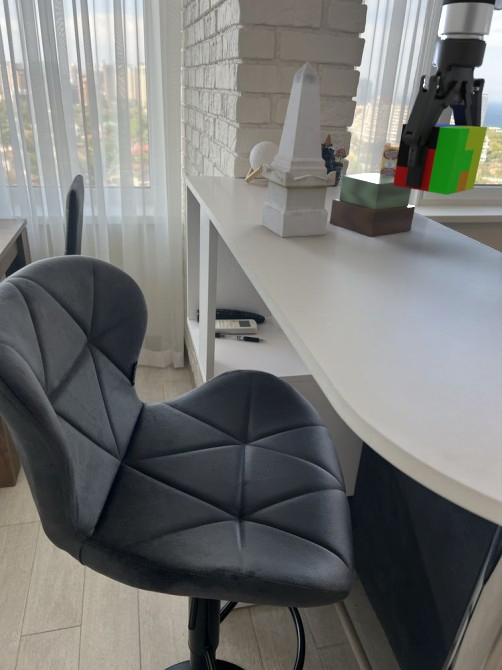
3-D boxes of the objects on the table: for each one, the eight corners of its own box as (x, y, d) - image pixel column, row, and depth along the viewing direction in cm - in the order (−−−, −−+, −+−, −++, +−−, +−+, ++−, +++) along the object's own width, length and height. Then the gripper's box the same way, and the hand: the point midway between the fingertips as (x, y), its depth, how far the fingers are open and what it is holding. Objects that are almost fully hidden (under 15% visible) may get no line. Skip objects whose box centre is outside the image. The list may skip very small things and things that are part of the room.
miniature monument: (328, 234, 99) (349, 62, 86) (280, 238, 96) (295, 58, 82) (303, 221, 108) (319, 63, 95) (259, 224, 104) (268, 59, 91)
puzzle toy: (421, 180, 95) (431, 122, 91) (473, 188, 89) (487, 127, 84) (393, 185, 89) (402, 123, 84) (446, 194, 82) (460, 128, 78)
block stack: (410, 230, 106) (420, 181, 102) (371, 236, 100) (379, 185, 95) (368, 217, 115) (375, 172, 110) (329, 223, 108) (335, 174, 104)
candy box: (391, 218, 116) (403, 147, 109) (372, 216, 117) (383, 145, 110) (392, 210, 123) (403, 143, 117) (374, 208, 124) (384, 142, 117)
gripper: (482, 45, 87) (455, 176, 97) (393, 33, 75) (372, 185, 85) (524, 43, 82) (490, 183, 92) (435, 30, 70) (407, 193, 80)
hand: (433, 184), depth 88 cm, fingers closed on puzzle toy, 11 cm apart
